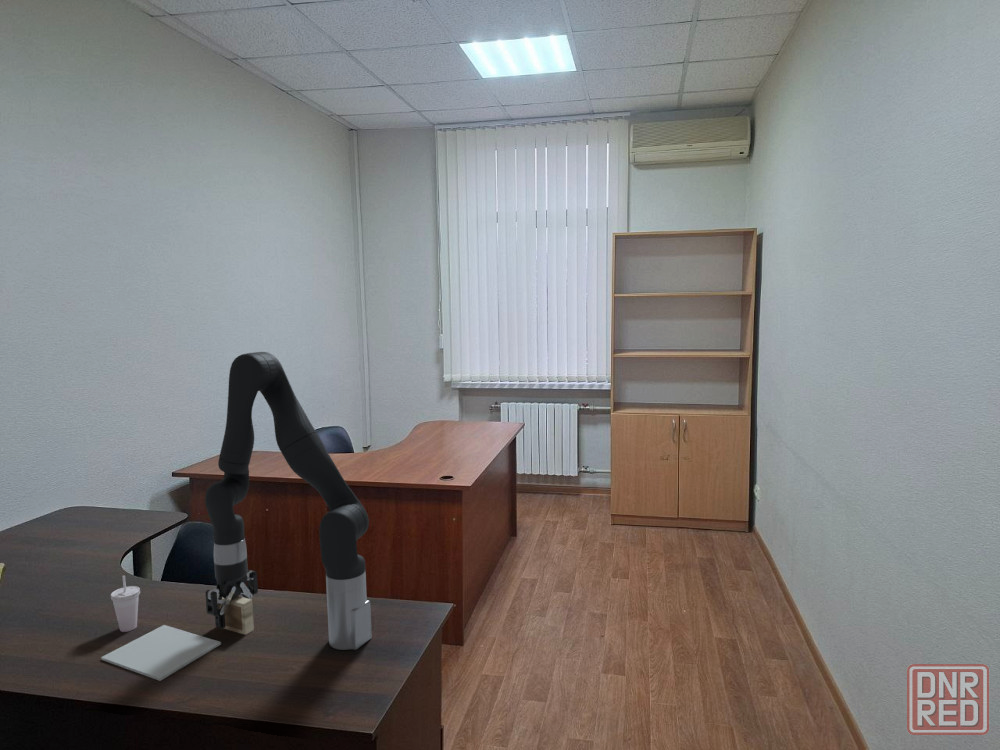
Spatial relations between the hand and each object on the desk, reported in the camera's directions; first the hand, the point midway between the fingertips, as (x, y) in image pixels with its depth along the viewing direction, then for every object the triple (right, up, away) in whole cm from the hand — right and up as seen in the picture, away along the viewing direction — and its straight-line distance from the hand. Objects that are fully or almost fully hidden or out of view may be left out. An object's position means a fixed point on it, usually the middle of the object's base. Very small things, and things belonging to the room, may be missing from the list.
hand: (234, 620), depth 158 cm
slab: (0, -2, 0) cm, 2 cm away
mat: (-13, -3, -10) cm, 17 cm away
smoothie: (-27, -3, +1) cm, 27 cm away
